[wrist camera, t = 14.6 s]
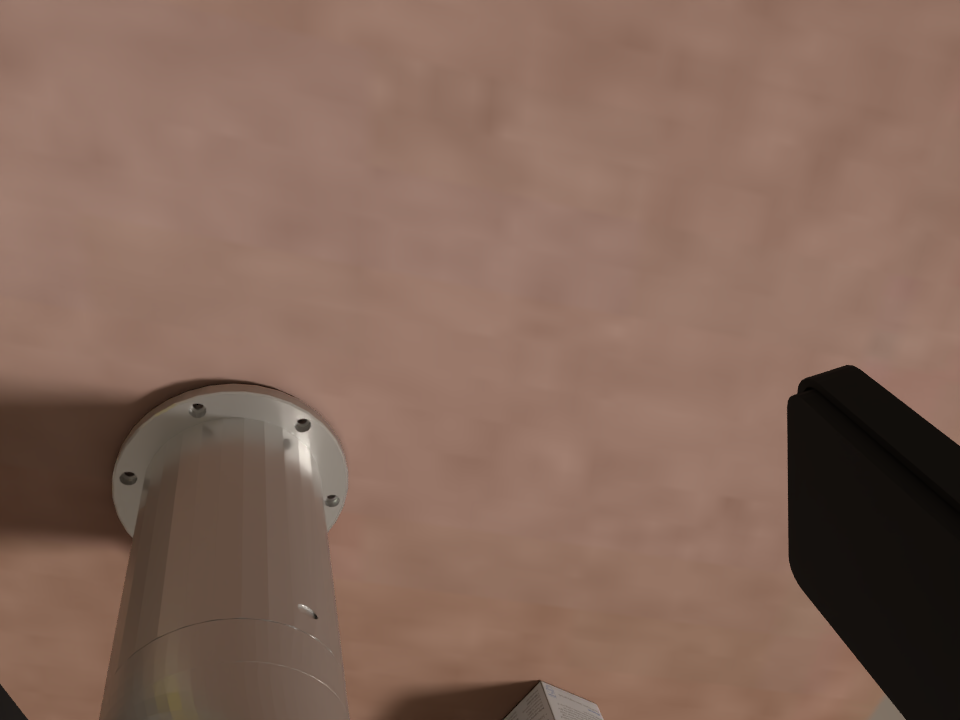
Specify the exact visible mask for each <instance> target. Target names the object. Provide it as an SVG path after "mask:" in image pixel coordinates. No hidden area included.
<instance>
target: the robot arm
mask: <svg viewBox="0 0 960 720" xmlns="http://www.w3.org/2000/svg"><path fill="white" fill-rule="evenodd" d="M195 404H202V405H195ZM299 419H304V420H299ZM787 433H788V538H789V563H790V566H791V570H792V572H793V575H794V577H795V579H796V581H797V583H798V584H799V586H800V587H801V589H802V590H803V591H804V593H805V594H806V595H807V596H808V598H809V599H810V600H811V601H812V603H813V604H814V605H815V606H816V608H817V609H818V610H819V611H820V613H821V614H822V615H823V616H824V618H825V619H826V620H827V621H828V623H829V624H830V625H831V626H832V628H833V629H834V630H835V631H836V633H837V634H838V635H839V636H840V638H841V639H842V640H843V641H844V643H845V644H846V645H847V646H848V648H849V649H850V650H851V651H852V653H853V654H854V655H855V656H856V658H857V659H858V660H859V661H860V663H861V664H862V665H863V666H864V668H865V669H866V670H867V671H868V673H869V674H870V675H871V676H872V678H873V679H874V680H875V681H876V683H877V684H878V685H879V686H880V688H881V689H882V690H883V691H884V693H885V694H886V695H887V696H888V698H889V699H890V700H891V701H892V703H893V704H894V705H895V706H896V708H897V709H898V710H899V711H900V713H901V714H902V715H903V716H904V718H905V719H906V720H960V446H959V445H958V444H956V443H955V442H954V441H952V440H951V439H950V438H949V437H947V436H946V435H945V434H943V433H942V432H941V431H939V430H938V429H937V428H936V427H934V426H933V425H932V424H930V423H929V422H928V421H926V420H925V419H924V418H923V417H921V416H920V415H919V414H917V413H916V412H915V411H913V410H912V409H911V408H910V407H908V406H907V405H906V404H904V403H903V402H902V401H900V400H899V399H898V398H897V397H895V396H894V395H893V394H891V393H890V392H889V391H888V390H886V389H885V388H884V387H882V386H881V385H880V384H878V383H877V382H876V381H875V380H873V379H872V378H871V377H869V376H868V375H867V374H865V373H864V372H863V371H862V370H860V369H858V368H857V367H855V366H852V365H846V366H842V367H839V368H836V369H833V370H830V371H827V372H824V373H821V374H817V375H814V376H811V377H808V378H805V379H803V380H802V381H801V382H800V384H799V386H798V393H797V394H796V395H793V396H791V397H790V398H789V400H788V405H787ZM347 491H348V469H347V463H346V457H345V454H344V451H343V448H342V445H341V442H340V440H339V438H338V436H337V435H336V433H335V432H334V430H333V429H332V427H331V426H330V424H329V423H328V422H327V421H326V420H325V419H324V418H323V417H322V416H321V415H320V414H319V413H318V412H317V411H316V410H314V409H313V408H311V407H310V406H308V405H307V404H305V403H304V402H302V401H301V400H299V399H297V398H295V397H293V396H290V395H288V394H286V393H283V392H281V391H279V390H274V389H270V388H266V387H262V386H258V385H246V384H223V385H212V386H207V387H203V388H199V389H195V390H191V391H187V392H185V393H182V394H180V395H178V396H176V397H173V398H171V399H169V400H166V401H165V402H163V403H162V404H160V405H159V406H157V407H156V408H154V409H153V410H151V411H150V412H148V413H147V414H146V415H145V416H144V417H143V418H142V419H141V420H140V421H139V422H138V423H137V424H136V425H135V426H134V427H133V428H132V430H131V431H130V433H129V434H128V436H127V438H126V439H125V441H124V442H123V444H122V446H121V449H120V451H119V454H118V457H117V460H116V463H115V467H114V471H113V476H112V499H113V502H114V506H115V509H116V513H117V516H118V518H119V519H120V521H121V523H122V525H123V526H124V528H125V530H126V532H127V533H128V534H129V535H130V536H131V537H132V538H133V540H132V545H131V551H130V556H129V561H128V566H127V572H126V577H125V582H124V588H123V593H122V598H121V604H120V609H119V614H118V620H117V625H116V630H115V635H114V641H113V646H112V651H111V657H110V662H109V667H108V673H107V678H106V683H105V689H104V695H103V700H102V705H101V711H100V717H99V720H350V718H349V710H348V701H347V693H346V685H345V684H346V683H345V675H344V667H343V658H342V650H341V642H340V633H339V625H338V617H337V608H336V600H335V592H334V583H333V575H332V567H331V558H330V550H329V542H328V532H329V530H330V529H331V528H332V526H333V525H334V524H335V522H336V521H337V519H338V517H339V515H340V513H341V511H342V509H343V507H344V503H345V499H346V495H347ZM0 720H28V719H27V718H26V717H25V715H24V714H23V713H22V711H21V710H20V709H19V708H18V706H17V705H16V704H15V702H14V701H13V700H12V699H11V697H10V696H9V695H8V693H7V692H6V691H5V690H4V688H3V687H2V686H1V684H0Z"/></svg>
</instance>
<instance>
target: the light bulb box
mask: <svg viewBox="0 0 960 720" xmlns="http://www.w3.org/2000/svg"><path fill="white" fill-rule="evenodd" d="M504 720H603V717H602V715H601V713H600V711H599V708H598V706H597V705H596V704H595V703H592V702H590V701H588V700H585V699H583V698H580V697H578V696H576V695H574V694H571V693H569V692H566V691H564V690H562V689H559V688H557V687H554V686H552V685H550V684H547V683H545V682H543V681H540V682H539V683H538V684H537V685H536V686H535V688H534V689H533V690H532V691H531V692H530V693H529V694H528V695H527V696H526V697H525V698H524V699H523V700H522V701H521V702H520V703H519V704H518V705H517V706H516V707H515V708H514V709H513V710H512V711H511V712H510V713H509V714H508V715H507V716H506V718H505V719H504Z"/></svg>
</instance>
